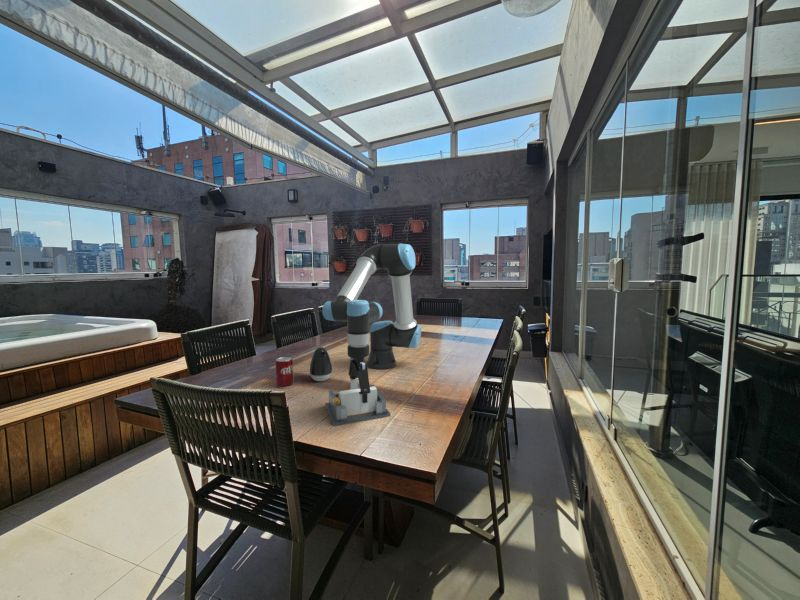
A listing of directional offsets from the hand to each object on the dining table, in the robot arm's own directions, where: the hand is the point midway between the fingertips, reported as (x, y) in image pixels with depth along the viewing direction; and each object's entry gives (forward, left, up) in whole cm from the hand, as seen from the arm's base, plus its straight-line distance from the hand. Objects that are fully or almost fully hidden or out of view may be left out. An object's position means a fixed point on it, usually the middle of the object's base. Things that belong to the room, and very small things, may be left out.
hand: (358, 403), depth 119 cm
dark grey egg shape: (+7, -42, -4) cm, 42 cm away
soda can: (+23, -40, -4) cm, 46 cm away
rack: (0, -4, -4) cm, 5 cm away
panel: (0, 0, -3) cm, 3 cm away
